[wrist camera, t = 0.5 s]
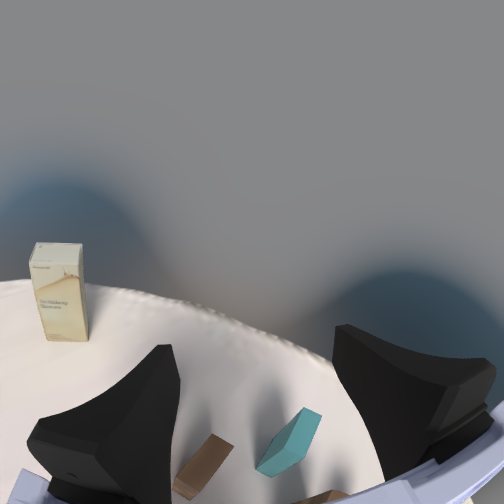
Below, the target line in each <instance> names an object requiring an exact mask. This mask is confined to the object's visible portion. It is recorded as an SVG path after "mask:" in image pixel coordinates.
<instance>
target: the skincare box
mask: <svg viewBox="0 0 504 504" xmlns="http://www.w3.org/2000/svg"><path fill="white" fill-rule="evenodd" d="M82 254H83V253H82V244H70V243H36V245H35V247H34V250H33V252H32V255H31V257H30V260H29V266H30V273H31V279H32V284H33V289H34V294H35V298H36V302H37V306H38V310H39V314H40V318H41V321H42V325H43V328H44V331H45V334H46V338H47V340H49V341H69V342H87V341H88V315H87V307H86V298H85V287H84V275H83V256H82Z"/></svg>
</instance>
